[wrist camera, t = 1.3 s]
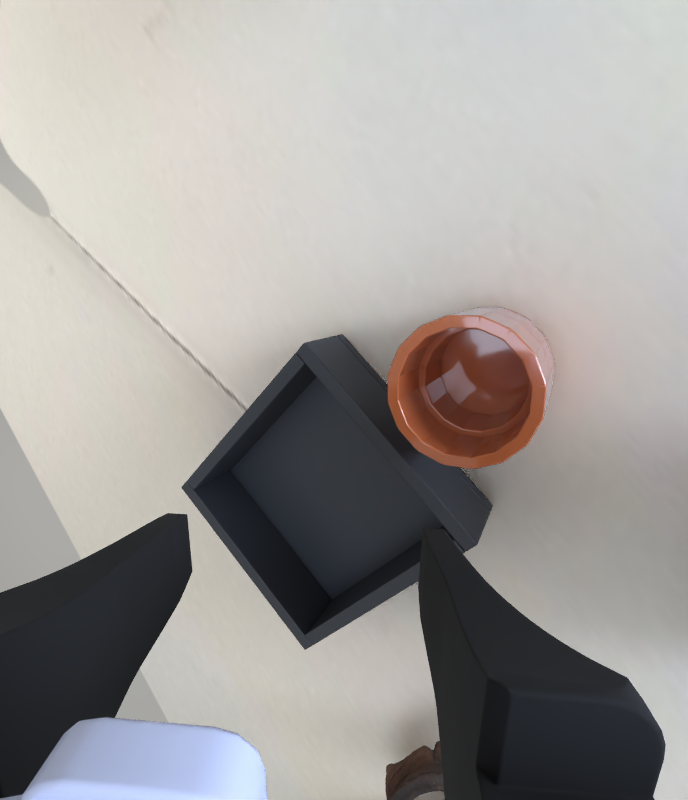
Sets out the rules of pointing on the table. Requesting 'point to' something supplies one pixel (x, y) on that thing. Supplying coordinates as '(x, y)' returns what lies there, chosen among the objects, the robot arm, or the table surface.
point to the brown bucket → (471, 386)
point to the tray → (329, 493)
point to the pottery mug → (415, 774)
